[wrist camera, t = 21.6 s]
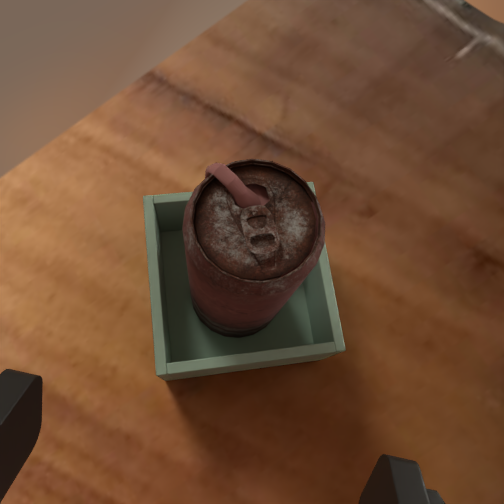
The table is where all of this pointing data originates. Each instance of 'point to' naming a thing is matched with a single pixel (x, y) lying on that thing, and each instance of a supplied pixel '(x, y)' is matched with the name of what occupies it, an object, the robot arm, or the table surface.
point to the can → (249, 243)
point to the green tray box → (211, 343)
